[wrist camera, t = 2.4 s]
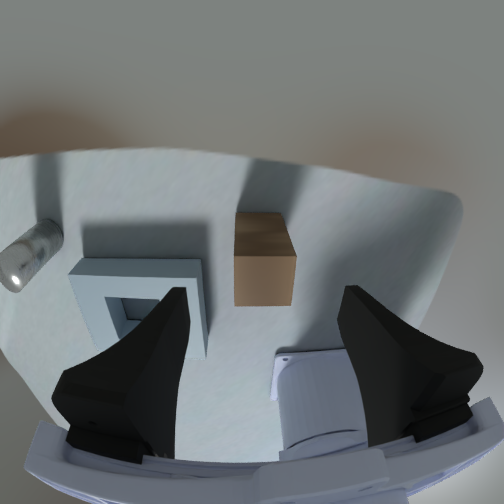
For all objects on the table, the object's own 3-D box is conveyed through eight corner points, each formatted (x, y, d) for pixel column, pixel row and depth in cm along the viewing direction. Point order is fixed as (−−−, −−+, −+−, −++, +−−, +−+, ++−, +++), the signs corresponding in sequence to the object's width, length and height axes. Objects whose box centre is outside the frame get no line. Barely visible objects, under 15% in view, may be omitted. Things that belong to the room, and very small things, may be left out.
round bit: (58, 218, 18) (13, 254, 13) (66, 252, 20) (28, 294, 14) (33, 220, 18) (-11, 254, 13) (41, 252, 19) (3, 291, 14)
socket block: (200, 259, 20) (196, 278, 18) (208, 338, 24) (206, 359, 22) (81, 258, 20) (67, 274, 18) (105, 331, 24) (97, 350, 21)
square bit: (280, 213, 19) (296, 256, 14) (278, 252, 20) (290, 305, 15) (235, 212, 19) (233, 256, 13) (235, 252, 20) (234, 306, 15)
